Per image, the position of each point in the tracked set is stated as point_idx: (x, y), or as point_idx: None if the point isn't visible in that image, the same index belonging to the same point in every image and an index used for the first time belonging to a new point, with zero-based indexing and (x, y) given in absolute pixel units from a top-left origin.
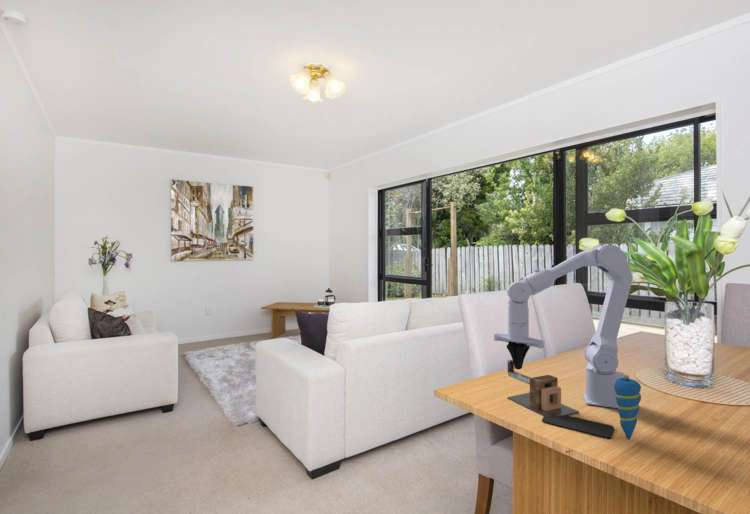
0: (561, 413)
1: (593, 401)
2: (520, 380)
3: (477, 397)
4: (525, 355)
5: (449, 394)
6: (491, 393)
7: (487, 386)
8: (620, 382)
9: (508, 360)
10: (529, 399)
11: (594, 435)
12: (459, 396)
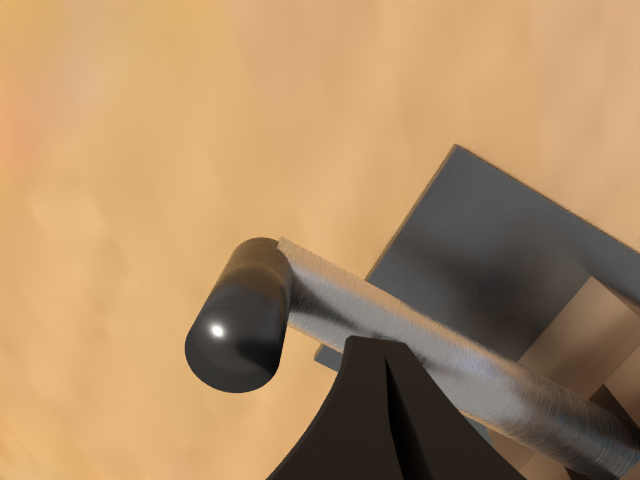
0: None
1: None
2: None
3: (154, 429)
4: (509, 467)
5: (3, 468)
6: (189, 325)
7: (92, 206)
8: None
9: (199, 359)
10: (459, 323)
11: None
12: (65, 466)
